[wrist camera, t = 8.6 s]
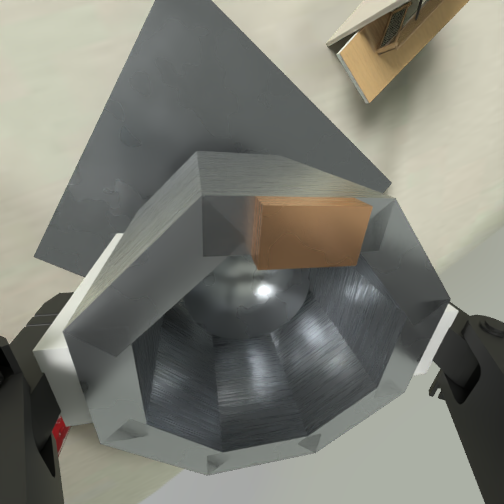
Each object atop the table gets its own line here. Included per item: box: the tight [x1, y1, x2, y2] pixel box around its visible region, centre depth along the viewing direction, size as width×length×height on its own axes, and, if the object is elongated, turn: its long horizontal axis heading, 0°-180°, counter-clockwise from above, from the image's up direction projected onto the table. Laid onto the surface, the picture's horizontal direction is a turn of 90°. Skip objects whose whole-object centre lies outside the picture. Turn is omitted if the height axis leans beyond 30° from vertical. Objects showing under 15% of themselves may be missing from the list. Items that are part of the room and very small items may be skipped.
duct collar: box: [62, 151, 450, 475], centre depth 10 cm, size 9×9×9 cm
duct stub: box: [34, 0, 391, 339], centre depth 15 cm, size 18×18×10 cm
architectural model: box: [326, 0, 469, 103], centre depth 13 cm, size 3×7×7 cm, turn 135°
